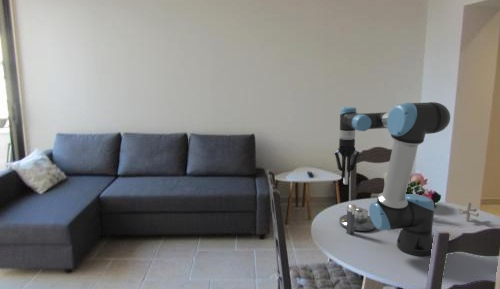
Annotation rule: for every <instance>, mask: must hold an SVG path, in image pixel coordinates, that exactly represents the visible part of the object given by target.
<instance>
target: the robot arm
mask: <svg viewBox="0 0 500 289" xmlns="http://www.w3.org/2000/svg"><path fill="white" fill-rule="evenodd" d="M450 122H451V113H450V111H449V109H448V108H447V107H446V106H445V105H444V104H442V103H440V102H436V101H435V102H434V101H432V102H429V101H428V102H406V103H405V102H404V103H399V104H397V105H395V106H393V107H392V108H391V109H390V111H384V112H369V113H366V112H365V113H363V112H362V113H357V108H356V107H354V106H343V107H340V114H339V140H338V141H339V142H338V148H337V150H336V151H333V154H334V156H335V160H336V165H337V169H338V171H340V172H341V178H342V179H343V181H342V183H343V185H349V179H350V176H351V172H352V171H354V170H355V166H356V163H357V160H358V157H359V155H360V153H361V152H360V151H358V150H356V147H355V146H356V145H355V144H356V131H357V132H358V131H359V132H366V131H368V130H375V129H387V131H388V132H389V134H390V138H392V140H393V145H392V148H391V154H390V159H389V163H388V167H387V171H386V172H387V176H386V181H385V182H384V185H383V191H382V192H381V193H379V194H378V196H377V200H376V202H375V201H373V202H372V203H370V205H369V210H368V213H369V216H370V218H371V220H372V223H373V224H374V226H375V227H376V228H375V229H377V230H378V231H391V230H399V229H400V230H401V231H400V233H399V235H398V236H397V239H396V247H397V248H398V249H399V250H400V251H401V252H403V253H406V254H408V255H412V256H416V257H427V256H428V257H429V256H431V249H432V243H433V239H434V235H433V222H434V214H435V202H434V201H433V199H431V198H430V197H428V196H425V195H423V194H422V195H418V194H406V192H407V188H408V184H409V180H410V176H411V173H413V167H414V162H415V160H416V154H417V151H418V147H419V145H421V144H422V143H424V141H425V137H426V135H430V134H436V133H440V132H442V131H444V130H445V129H446V128H448V125H449V124H450ZM340 155H341V158H340ZM352 155H353V156H352Z"/></svg>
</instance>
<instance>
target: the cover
mask: <svg viewBox="0 0 500 289" xmlns="http://www.w3.org/2000/svg"><path fill="white" fill-rule="evenodd" d="M355 209H356V213H355V219H354V222H355V223H366V222H367V218H368V216H369V214H368V213H369V210H368V209H366V208H363V207H357V208H355Z"/></svg>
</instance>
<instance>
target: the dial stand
mask: <svg viewBox="0 0 500 289" xmlns="http://www.w3.org/2000/svg"><path fill="white" fill-rule="evenodd" d="M353 205H354V204H349V205H347V206H346V208H345V210H346V215H347V228H346V231H345V232H346V234H347V235H350V236H352V235H354V234H355V231H354V219H355V213H356V209H355V207H354V206H353Z"/></svg>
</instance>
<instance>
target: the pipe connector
mask: <svg viewBox="0 0 500 289" xmlns="http://www.w3.org/2000/svg"><path fill="white" fill-rule="evenodd" d="M457 209H458V211H459V214H460V215H465V222H467V223H468V222H470V220H471V215H472V216H473V217H480V216H479V215H480V214H479V213H478V212H477V210H478V209H477V208H476V207H473V208H472V201H466V208H465V207H463V206H458V208H457Z"/></svg>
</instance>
